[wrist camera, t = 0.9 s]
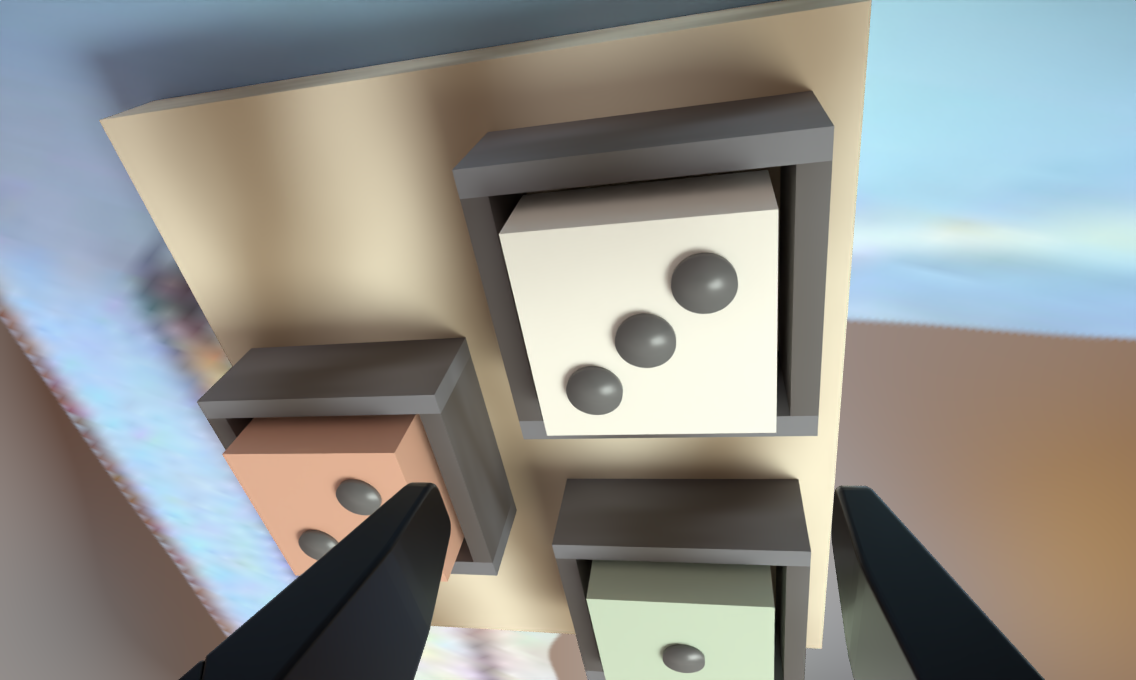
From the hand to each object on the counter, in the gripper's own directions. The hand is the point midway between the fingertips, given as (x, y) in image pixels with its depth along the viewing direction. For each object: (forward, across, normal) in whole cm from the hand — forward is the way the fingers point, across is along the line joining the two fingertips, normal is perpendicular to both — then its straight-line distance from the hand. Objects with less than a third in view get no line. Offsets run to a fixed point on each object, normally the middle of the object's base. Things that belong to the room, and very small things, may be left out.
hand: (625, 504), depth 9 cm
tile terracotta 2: (+6, +9, +6) cm, 12 cm away
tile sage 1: (+6, 0, +11) cm, 13 cm away
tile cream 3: (+6, 0, 0) cm, 6 cm away
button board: (+10, +4, +6) cm, 12 cm away
